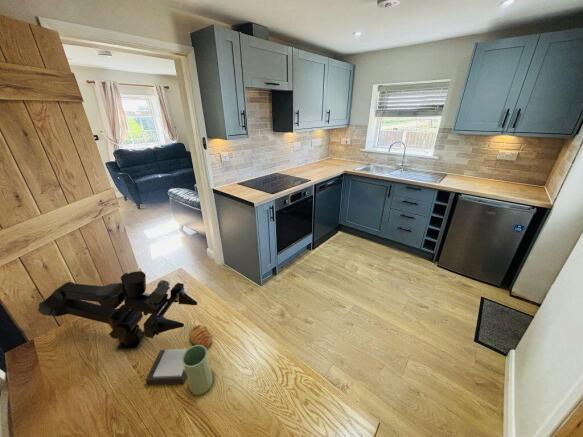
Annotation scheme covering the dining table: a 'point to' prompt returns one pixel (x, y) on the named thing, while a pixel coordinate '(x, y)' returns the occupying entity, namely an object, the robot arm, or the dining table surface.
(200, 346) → the cup
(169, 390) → the dining table surface
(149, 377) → the scale
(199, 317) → the dining table surface
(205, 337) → the pastry
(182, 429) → the dining table surface
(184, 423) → the dining table surface
